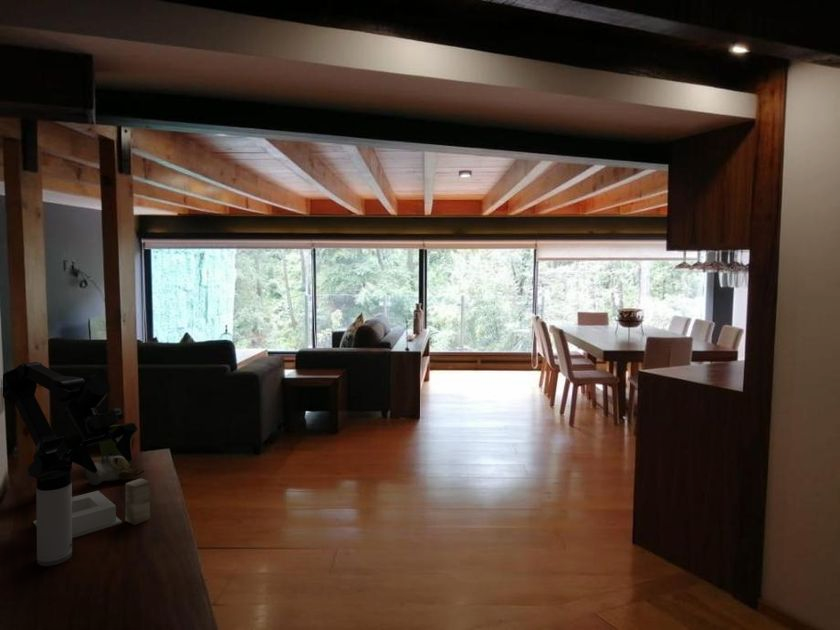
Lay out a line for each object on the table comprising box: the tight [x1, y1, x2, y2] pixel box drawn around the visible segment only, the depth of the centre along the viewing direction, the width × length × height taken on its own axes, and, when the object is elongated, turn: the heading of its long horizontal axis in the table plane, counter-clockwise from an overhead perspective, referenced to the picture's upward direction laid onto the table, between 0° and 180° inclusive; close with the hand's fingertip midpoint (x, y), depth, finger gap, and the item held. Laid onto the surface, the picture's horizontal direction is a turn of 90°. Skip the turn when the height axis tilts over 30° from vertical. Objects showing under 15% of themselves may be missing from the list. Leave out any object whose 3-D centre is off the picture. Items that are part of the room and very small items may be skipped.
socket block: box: [33, 490, 123, 539], centre depth 127 cm, size 15×15×5 cm
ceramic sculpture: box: [84, 453, 145, 486], centre depth 155 cm, size 11×9×15 cm
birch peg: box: [124, 477, 151, 526], centre depth 130 cm, size 4×4×10 cm
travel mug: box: [35, 465, 73, 567], centre depth 111 cm, size 6×7×20 cm
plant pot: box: [98, 424, 135, 459], centre depth 168 cm, size 12×12×11 cm
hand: (113, 466), depth 131 cm, fingers open, 9 cm apart
